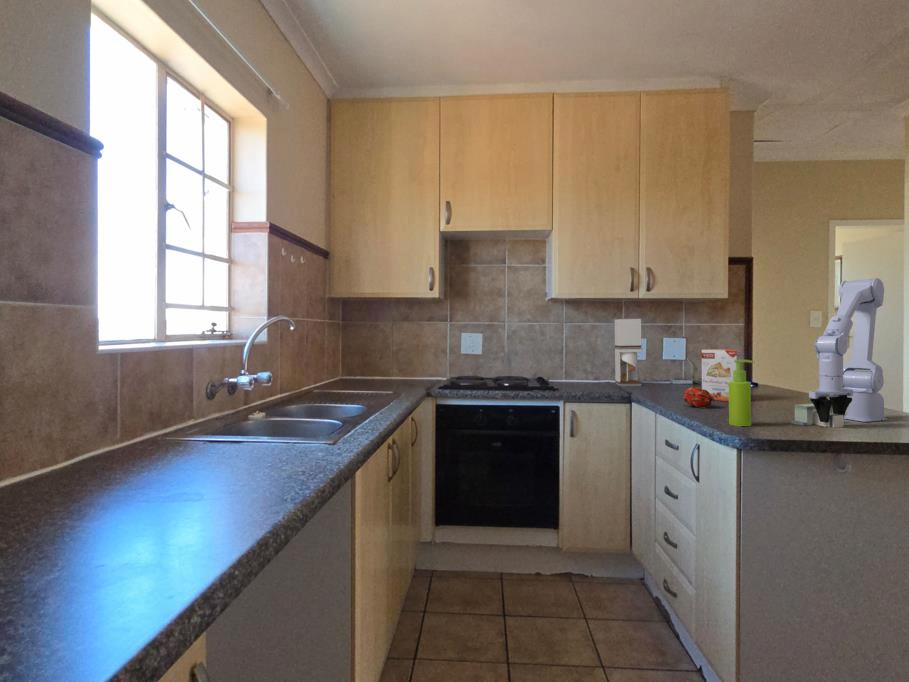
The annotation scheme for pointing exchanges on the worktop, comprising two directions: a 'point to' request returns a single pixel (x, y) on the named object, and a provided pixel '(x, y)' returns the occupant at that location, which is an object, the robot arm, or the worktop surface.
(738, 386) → the soap dispenser
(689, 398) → the dragon fruit
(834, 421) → the bar
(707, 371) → the cracker box
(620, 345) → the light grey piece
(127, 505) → the worktop surface
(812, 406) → the pale green block
